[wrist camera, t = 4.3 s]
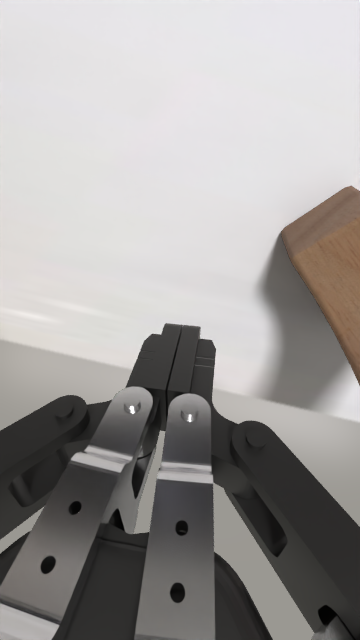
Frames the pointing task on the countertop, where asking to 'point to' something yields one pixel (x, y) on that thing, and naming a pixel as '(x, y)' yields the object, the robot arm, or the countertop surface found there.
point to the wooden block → (332, 264)
